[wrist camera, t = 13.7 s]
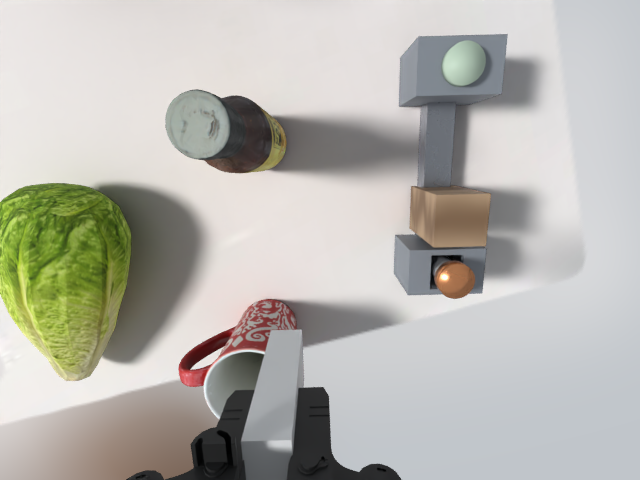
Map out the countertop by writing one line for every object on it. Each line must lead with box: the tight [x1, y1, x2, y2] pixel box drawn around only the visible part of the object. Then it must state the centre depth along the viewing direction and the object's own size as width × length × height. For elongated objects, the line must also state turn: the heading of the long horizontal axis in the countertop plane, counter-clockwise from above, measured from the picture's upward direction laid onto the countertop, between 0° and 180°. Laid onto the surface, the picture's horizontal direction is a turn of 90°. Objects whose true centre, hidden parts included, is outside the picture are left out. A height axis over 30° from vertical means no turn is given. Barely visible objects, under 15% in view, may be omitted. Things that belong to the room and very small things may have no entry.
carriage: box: [410, 185, 491, 247], centre depth 36 cm, size 5×5×9 cm
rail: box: [415, 102, 456, 239], centre depth 39 cm, size 15×3×2 cm, turn 1°
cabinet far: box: [394, 235, 486, 295], centre depth 40 cm, size 5×8×7 cm, turn 91°
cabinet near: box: [399, 34, 508, 106], centre depth 34 cm, size 5×8×8 cm, turn 91°
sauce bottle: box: [165, 90, 287, 173], centre depth 30 cm, size 6×6×20 cm
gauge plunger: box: [431, 255, 475, 299], centre depth 37 cm, size 4×4×7 cm
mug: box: [179, 299, 297, 419], centre depth 39 cm, size 13×9×14 cm
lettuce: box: [0, 183, 131, 381], centre depth 39 cm, size 12×24×13 cm
